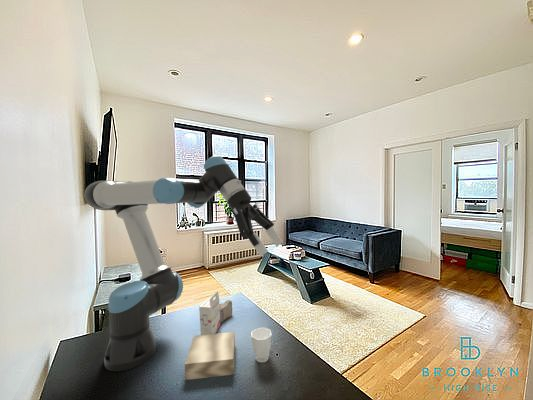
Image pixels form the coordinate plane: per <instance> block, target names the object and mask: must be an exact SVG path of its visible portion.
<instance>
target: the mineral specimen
mask: <svg viewBox="0 0 533 400" xmlns="http://www.w3.org/2000/svg"><path fill="white" fill-rule="evenodd" d="M219 307H220V324H221V323H223V322H225V320H226V319H228V318H230V317H231V316H232V315H233V301H232V300H231V299H228V300H225V302H222V303H219Z"/></svg>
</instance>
